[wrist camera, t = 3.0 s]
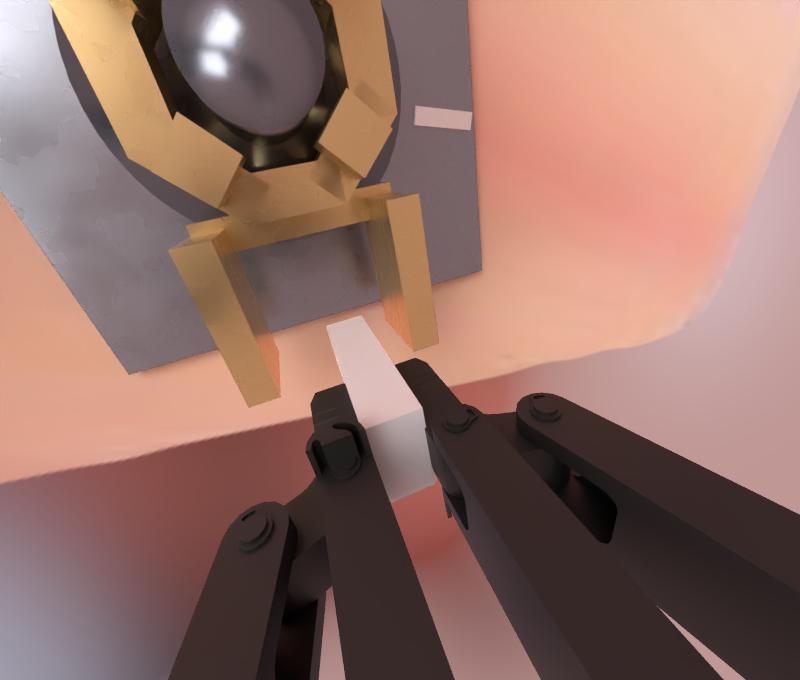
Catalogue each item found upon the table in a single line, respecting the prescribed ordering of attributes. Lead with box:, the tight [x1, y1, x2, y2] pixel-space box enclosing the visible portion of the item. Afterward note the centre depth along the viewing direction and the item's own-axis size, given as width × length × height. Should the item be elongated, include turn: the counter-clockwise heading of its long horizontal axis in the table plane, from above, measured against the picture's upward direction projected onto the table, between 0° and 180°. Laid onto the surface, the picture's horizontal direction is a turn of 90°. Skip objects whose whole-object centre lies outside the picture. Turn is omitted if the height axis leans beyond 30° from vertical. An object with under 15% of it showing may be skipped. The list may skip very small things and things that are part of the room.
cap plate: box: [0, 0, 482, 375], centre depth 14 cm, size 26×26×9 cm
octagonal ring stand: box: [49, 0, 439, 408], centre depth 14 cm, size 18×11×5 cm, turn 11°
